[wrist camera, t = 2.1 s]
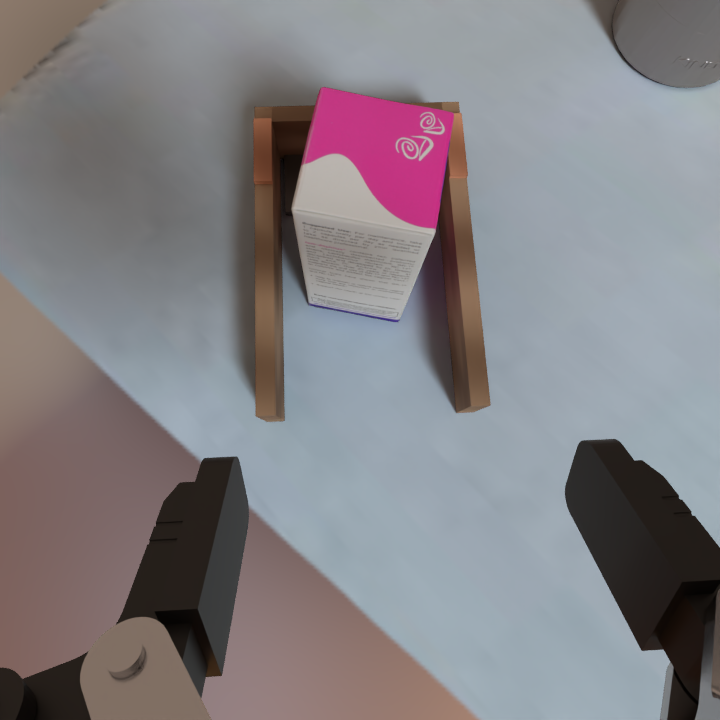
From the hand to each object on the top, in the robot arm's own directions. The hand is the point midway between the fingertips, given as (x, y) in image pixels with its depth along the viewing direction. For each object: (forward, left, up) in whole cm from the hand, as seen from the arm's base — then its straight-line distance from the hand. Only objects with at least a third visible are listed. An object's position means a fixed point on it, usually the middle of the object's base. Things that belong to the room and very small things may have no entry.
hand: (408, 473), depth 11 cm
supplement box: (-12, 0, -16) cm, 20 cm away
